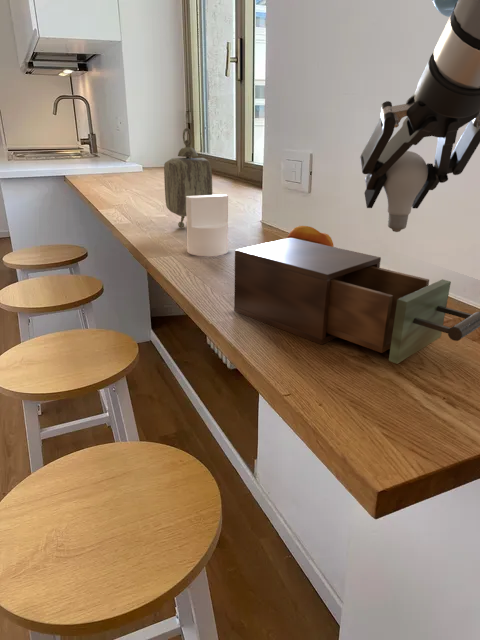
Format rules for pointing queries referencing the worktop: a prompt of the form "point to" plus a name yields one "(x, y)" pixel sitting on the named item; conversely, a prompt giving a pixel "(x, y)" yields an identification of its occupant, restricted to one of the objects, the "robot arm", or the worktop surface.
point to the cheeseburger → (310, 235)
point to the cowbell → (186, 178)
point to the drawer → (392, 311)
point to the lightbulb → (404, 187)
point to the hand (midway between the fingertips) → (391, 200)
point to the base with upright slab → (207, 224)
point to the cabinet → (292, 283)
